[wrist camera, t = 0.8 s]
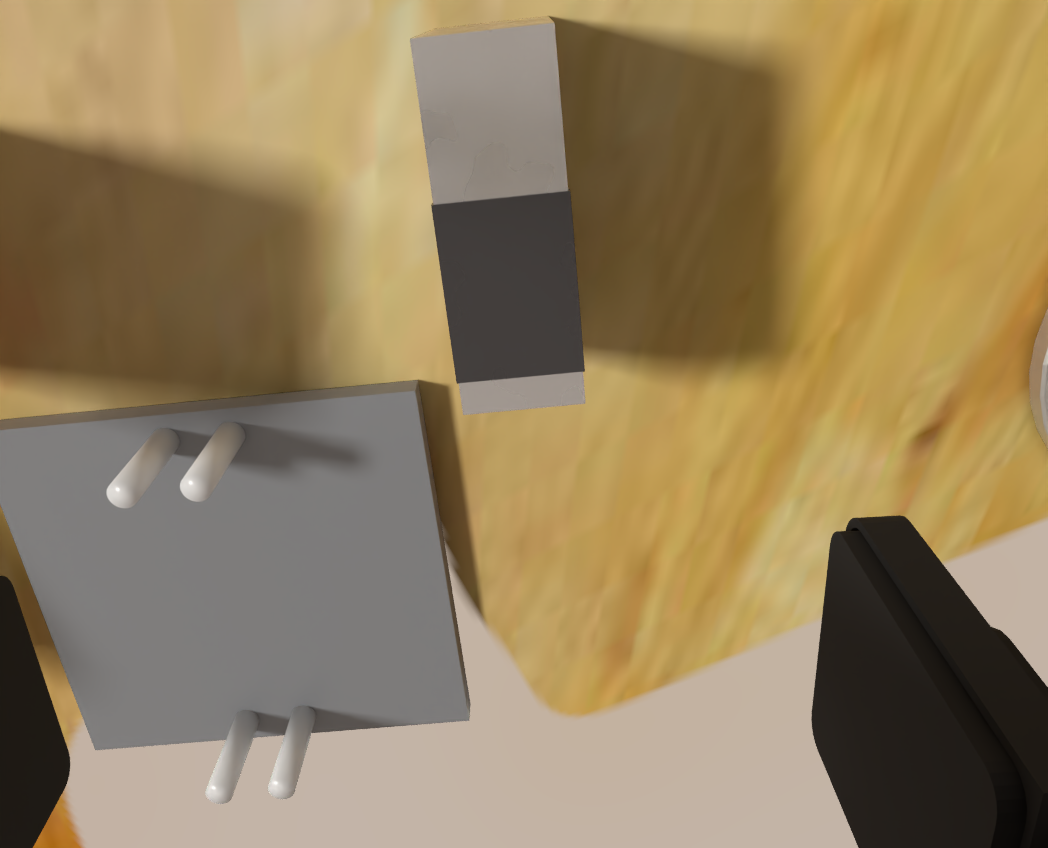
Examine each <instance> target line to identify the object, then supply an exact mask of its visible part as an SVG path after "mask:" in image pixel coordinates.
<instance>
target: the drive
mask: <svg viewBox="0 0 1048 848" xmlns="http://www.w3.org/2000/svg"><path fill="white" fill-rule="evenodd" d="M410 43H411V50H412V57H413V64H414V71H415V78H416V85H417V92H418V99H419V107H420V114H421V121H422V128H423V135H424V142H425V149H426V156H427V163H428V170H429V177H430V184H431V191H432V198H433V203H432V205H431V206H432V213H433V220H434V227H435V234H436V241H437V248H438V255H439V262H440V269H441V276H442V283H443V290H444V297H445V304H446V311H447V318H448V325H449V332H450V339H451V346H452V353H453V360H454V367H455V374H456V381H457V383H459V388H460V395H461V402H462V409H463V415H468V414H479V413H489V412H500V411H511V410H522V409H532V408H543V407H554V406H564V405H575V404H585V391H584V379H583V372H584V371H585V369H584V356H583V344H582V331H581V319H580V307H579V294H578V282H577V269H576V257H575V244H574V232H573V220H572V207H571V195H570V189H568V183H567V170H566V158H565V146H564V133H563V121H562V109H561V97H560V84H559V72H558V60H557V47H556V35H555V23H554V22H553V21H552V20H551V19H550V18H549V17H548V16H542V17H533V18H525V19H516V20H507V21H498V22H489V23H480V24H471V25H462V26H453V27H444V28H435V29H432V30H430V31H428V32H425V33H423V34H420V35H418V36H415V37H413V38H411V39H410Z"/></svg>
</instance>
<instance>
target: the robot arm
mask: <svg viewBox="0 0 1048 848" xmlns="http://www.w3.org/2000/svg"><path fill="white" fill-rule="evenodd" d="M1029 385H1030V405H1031V408H1032V412H1033V416H1034V420H1035V424H1036V428H1037V431H1038V432H1039V434H1040V436H1041V438H1042V440H1043V442H1044V443H1045V445H1046V447H1047V449H1048V309H1047V311H1046V314H1045V316H1044V319H1043V321H1042V324H1041V327H1040V329H1039V332H1038V334H1037V337H1036V339H1035V344H1034V349H1033V354H1032V360H1031V365H1030V371H1029ZM812 729H813V735H814V739H815V743H816V746H817V749H818V752H819V754H820V756H821V759H822V761H823V764H824V766H825V768H826V771H827V773H828V775H829V778H830V780H831V783H832V785H833V788H834V790H835V792H836V795H837V797H838V799H839V802H840V804H841V807H842V809H843V811H844V814H845V816H846V819H847V821H848V823H849V826H850V828H851V831H852V833H853V835H854V838H855V840H856V843H857V845H858V847H859V848H1048V687H1047V686H1046V685H1045V683H1044V682H1043V681H1042V680H1041V678H1040V677H1039V676H1038V675H1037V673H1036V672H1035V671H1034V669H1033V668H1032V667H1031V666H1030V664H1029V663H1028V662H1027V661H1026V659H1025V658H1024V657H1023V655H1022V654H1021V653H1020V651H1019V650H1018V649H1017V648H1016V646H1015V645H1014V644H1013V643H1012V641H1011V640H1010V639H1009V638H1008V637H1007V636H1006V635H1005V634H1004V633H1003V632H1002V631H1000V630H998V629H995V628H992V627H990V625H989V624H988V623H987V621H986V620H985V619H984V617H983V616H982V615H981V614H980V612H979V611H978V610H977V608H976V607H975V606H974V604H973V603H972V602H971V600H970V599H969V598H968V597H967V595H966V594H965V593H964V591H963V590H962V589H961V587H960V586H959V585H958V584H957V582H956V581H955V580H954V578H953V577H952V576H951V574H950V573H949V572H948V571H947V569H946V568H945V567H944V565H943V564H942V563H941V561H940V560H939V559H938V558H937V556H936V555H935V554H934V552H933V551H932V550H931V548H930V547H929V546H928V545H927V543H926V542H925V541H924V539H923V538H922V537H921V535H920V534H919V533H918V531H917V530H916V529H915V528H914V526H913V525H912V524H911V522H910V521H909V520H908V519H907V518H906V517H905V516H884V517H865V518H853V519H851V520H850V521H849V523H848V525H847V527H846V531H840V532H835V533H834V534H833V536H832V538H831V543H830V551H829V560H828V569H827V578H826V587H825V597H824V606H823V615H822V624H821V633H820V642H819V652H818V661H817V670H816V679H815V688H814V697H813V707H812ZM69 772H70V756H69V752H68V749H67V746H66V743H65V740H64V737H63V734H62V731H61V728H60V725H59V722H58V719H57V716H56V713H55V710H54V707H53V704H52V701H51V698H50V695H49V692H48V689H47V686H46V683H45V680H44V677H43V674H42V671H41V668H40V665H39V662H38V659H37V656H36V653H35V650H34V647H33V644H32V641H31V638H30V635H29V632H28V629H27V626H26V623H25V620H24V617H23V614H22V611H21V608H20V605H19V602H18V599H17V596H16V593H15V590H14V588H13V585H12V583H11V581H10V580H9V579H8V578H7V577H4V576H0V848H33V846H34V844H35V842H36V841H37V839H38V837H39V835H40V833H41V831H42V829H43V828H44V826H45V824H46V822H47V820H48V818H49V817H50V815H51V813H52V811H53V809H54V807H55V805H56V804H57V802H58V800H59V798H60V796H61V794H62V793H63V791H64V789H65V786H66V784H67V781H68V777H69Z"/></svg>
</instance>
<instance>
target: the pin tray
mask: <svg viewBox="0 0 1048 848" xmlns="http://www.w3.org/2000/svg"><path fill="white" fill-rule="evenodd" d="M0 505H1V508H2V510H3V513H4V515H5V518H6V521H7V523H8V526H9V528H10V531H11V534H12V536H13V539H14V541H15V544H16V546H17V549H18V552H19V554H20V557H21V559H22V562H23V565H24V567H25V570H26V572H27V575H28V577H29V580H30V583H31V585H32V588H33V590H34V593H35V596H36V598H37V601H38V603H39V606H40V608H41V611H42V614H43V616H44V619H45V621H46V624H47V626H48V629H49V632H50V634H51V637H52V639H53V642H54V645H55V647H56V650H57V652H58V655H59V657H60V660H61V663H62V665H63V668H64V670H65V673H66V676H67V678H68V681H69V683H70V686H71V688H72V691H73V694H74V696H75V699H76V701H77V704H78V707H79V709H80V712H81V714H82V717H83V719H84V722H85V725H86V727H87V730H88V732H89V735H90V738H91V740H92V743H93V745H94V748H95V750H102V749H115V748H128V747H140V746H154V745H167V744H179V743H191V742H204V741H217V740H226V741H225V744H224V746H223V749H222V751H221V754H220V757H219V759H218V761H217V764H216V766H215V769H214V772H213V774H212V777H211V779H210V782H209V784H208V787H207V789H206V796H207V798H208V799H209V800H210V801H212V802H214V803H218V804H224V803H227V802H229V801H230V800H231V798H232V796H233V793H234V790H235V787H236V785H237V782H238V779H239V777H240V774H241V771H242V768H243V765H244V763H245V760H246V757H247V754H248V751H249V749H250V746H251V743H252V740H253V738H255V737H267V736H279V735H285V736H284V739H283V742H282V745H281V748H280V752H279V754H278V757H277V761H276V764H275V767H274V770H273V773H272V776H271V779H270V783H269V785H268V791H269V792H270V794H271V795H272V796H273V797H275V798H278V799H287V798H290V797H291V796H292V795H293V794H294V792H295V788H296V785H297V781H298V778H299V774H300V771H301V767H302V764H303V760H304V756H305V753H306V750H307V746H308V743H309V739H310V736H311V733H317V732H330V731H343V730H355V729H368V728H380V727H392V726H406V725H418V724H431V723H443V722H456V721H468V720H469V715H470V699H469V693H468V687H467V680H466V674H465V668H464V662H463V655H462V649H461V644H460V637H459V632H458V624H457V618H456V612H455V606H454V600H453V594H452V587H451V581H450V575H449V569H448V563H447V556H446V550H445V544H444V538H443V532H442V525H441V519H440V513H439V507H438V501H437V495H436V488H435V482H434V476H433V470H432V464H431V457H430V451H429V445H428V439H427V433H426V426H425V420H424V414H423V408H422V402H421V396H420V389H419V383H418V380H413V381H403V382H392V383H382V384H371V385H361V386H350V387H340V388H329V389H319V390H309V391H298V392H288V393H277V394H267V395H256V396H246V397H235V398H225V399H214V400H204V401H193V402H183V403H172V404H162V405H151V406H141V407H130V408H120V409H109V410H99V411H88V412H78V413H67V414H57V415H46V416H36V417H25V418H15V419H4V420H0Z"/></svg>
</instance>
